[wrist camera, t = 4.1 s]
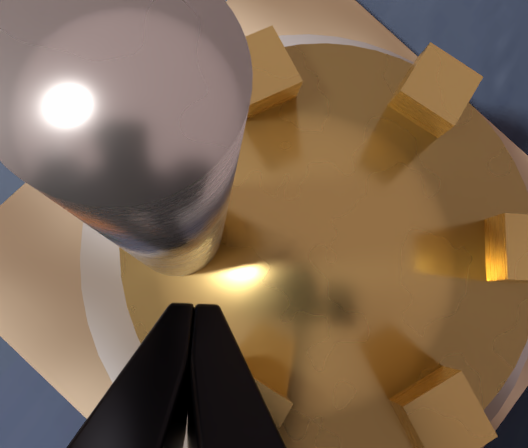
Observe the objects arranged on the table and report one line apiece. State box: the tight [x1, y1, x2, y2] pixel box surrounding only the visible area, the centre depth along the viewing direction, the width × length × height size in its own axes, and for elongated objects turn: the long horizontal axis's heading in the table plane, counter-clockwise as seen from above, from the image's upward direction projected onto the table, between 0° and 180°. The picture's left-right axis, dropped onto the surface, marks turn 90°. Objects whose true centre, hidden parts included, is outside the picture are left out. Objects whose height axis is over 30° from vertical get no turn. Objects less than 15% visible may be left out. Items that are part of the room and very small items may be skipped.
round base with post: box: [0, 0, 528, 448], centre depth 10 cm, size 12×12×11 cm
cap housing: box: [0, 0, 528, 448], centre depth 17 cm, size 18×18×3 cm
